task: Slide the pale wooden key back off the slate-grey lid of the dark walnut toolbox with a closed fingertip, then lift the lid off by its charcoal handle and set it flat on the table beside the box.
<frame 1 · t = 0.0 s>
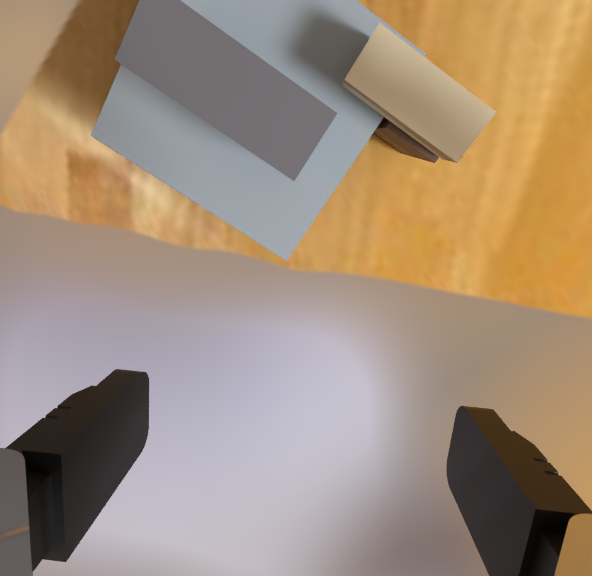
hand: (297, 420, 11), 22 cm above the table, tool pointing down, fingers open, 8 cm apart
wooden key: (414, 98, 18), point 11 cm above the table, slide at 0.0 cm
toolbox: (271, 107, 29), on the table
lid: (256, 100, 22), point 7 cm above the table, touching toolbox
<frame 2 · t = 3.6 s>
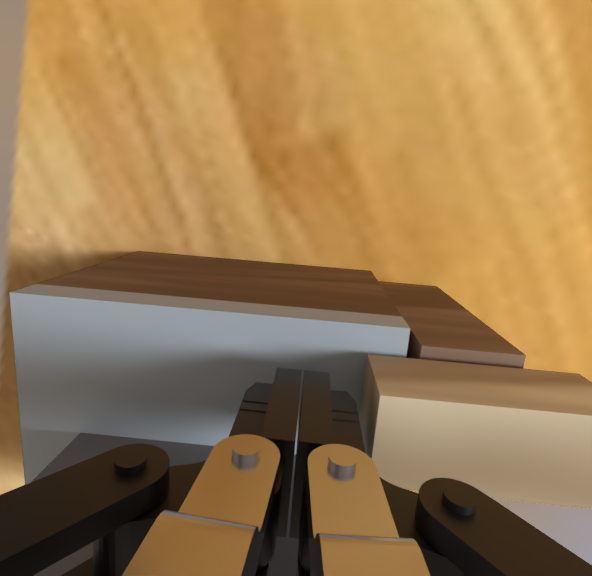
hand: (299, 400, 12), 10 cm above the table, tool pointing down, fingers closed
wooden key: (481, 425, 11), point 11 cm above the table, slide at 1.3 cm, touching gripper
toolbox: (247, 369, 22), on the table
lid: (217, 445, 16), point 7 cm above the table, touching toolbox
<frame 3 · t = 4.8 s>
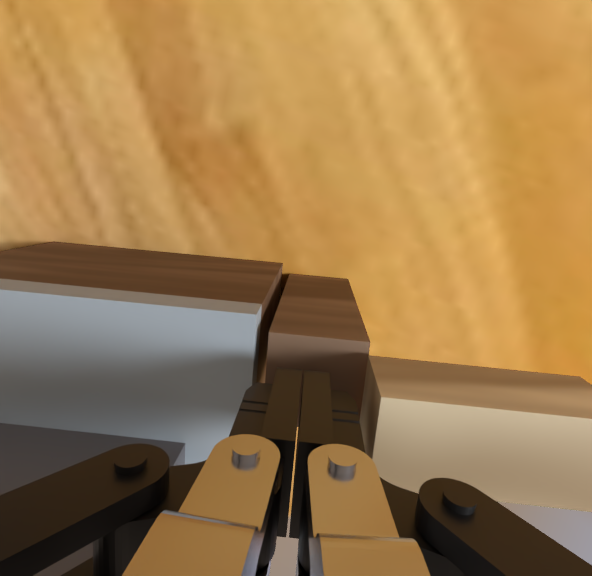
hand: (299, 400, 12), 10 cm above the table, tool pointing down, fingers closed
wooden key: (482, 427, 11), point 11 cm above the table, slide at 5.8 cm, touching gripper
toolbox: (165, 360, 23), on the table
lid: (99, 432, 16), point 7 cm above the table, touching toolbox
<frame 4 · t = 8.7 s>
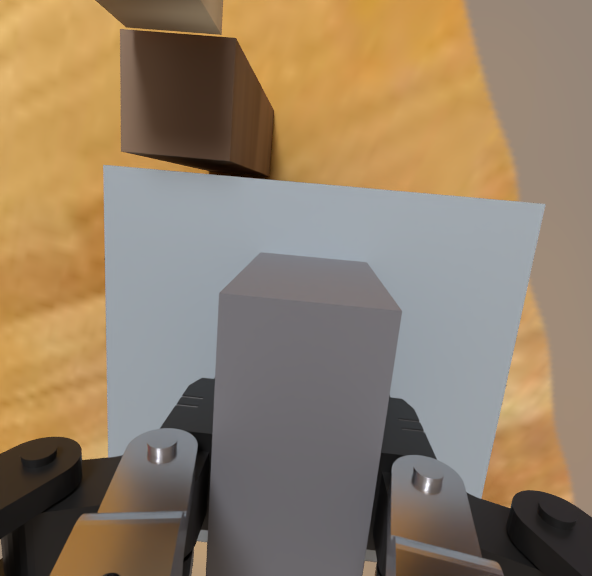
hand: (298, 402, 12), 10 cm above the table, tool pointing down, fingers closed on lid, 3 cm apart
toolbox: (308, 307, 21), on the table
lid: (303, 359, 15), point 7 cm above the table, touching gripper, toolbox
when the fingers open (5 cm above the table, at t = 15.8 s): lid drops 2 cm, on the table.
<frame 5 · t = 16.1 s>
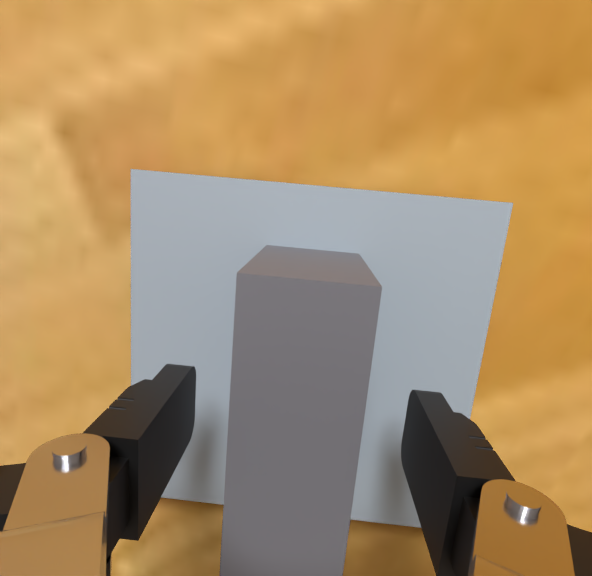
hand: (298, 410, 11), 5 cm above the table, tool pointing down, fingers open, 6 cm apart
lid: (303, 342, 16), on the table
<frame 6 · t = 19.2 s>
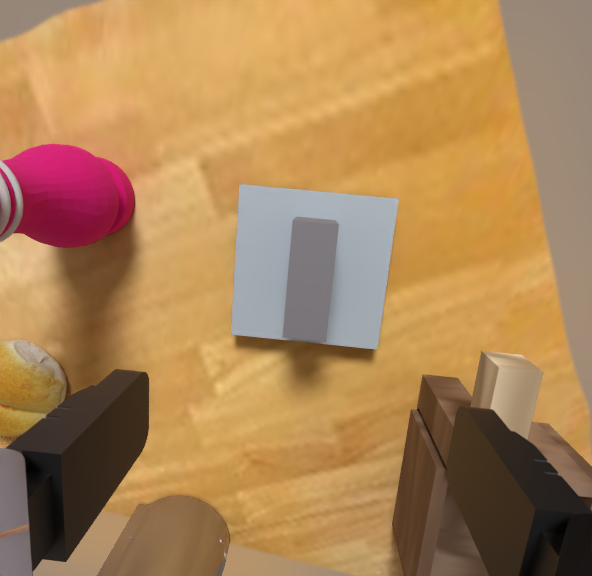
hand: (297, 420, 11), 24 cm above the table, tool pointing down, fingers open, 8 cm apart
wooden key: (500, 407, 25), point 11 cm above the table, slide at 5.9 cm
bread roll: (25, 380, 38), on the table
toolbox: (467, 475, 38), on the table
pepper mill: (99, 196, 34), on the table
lid: (311, 265, 34), on the table
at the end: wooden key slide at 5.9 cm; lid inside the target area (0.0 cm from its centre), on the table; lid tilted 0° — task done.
